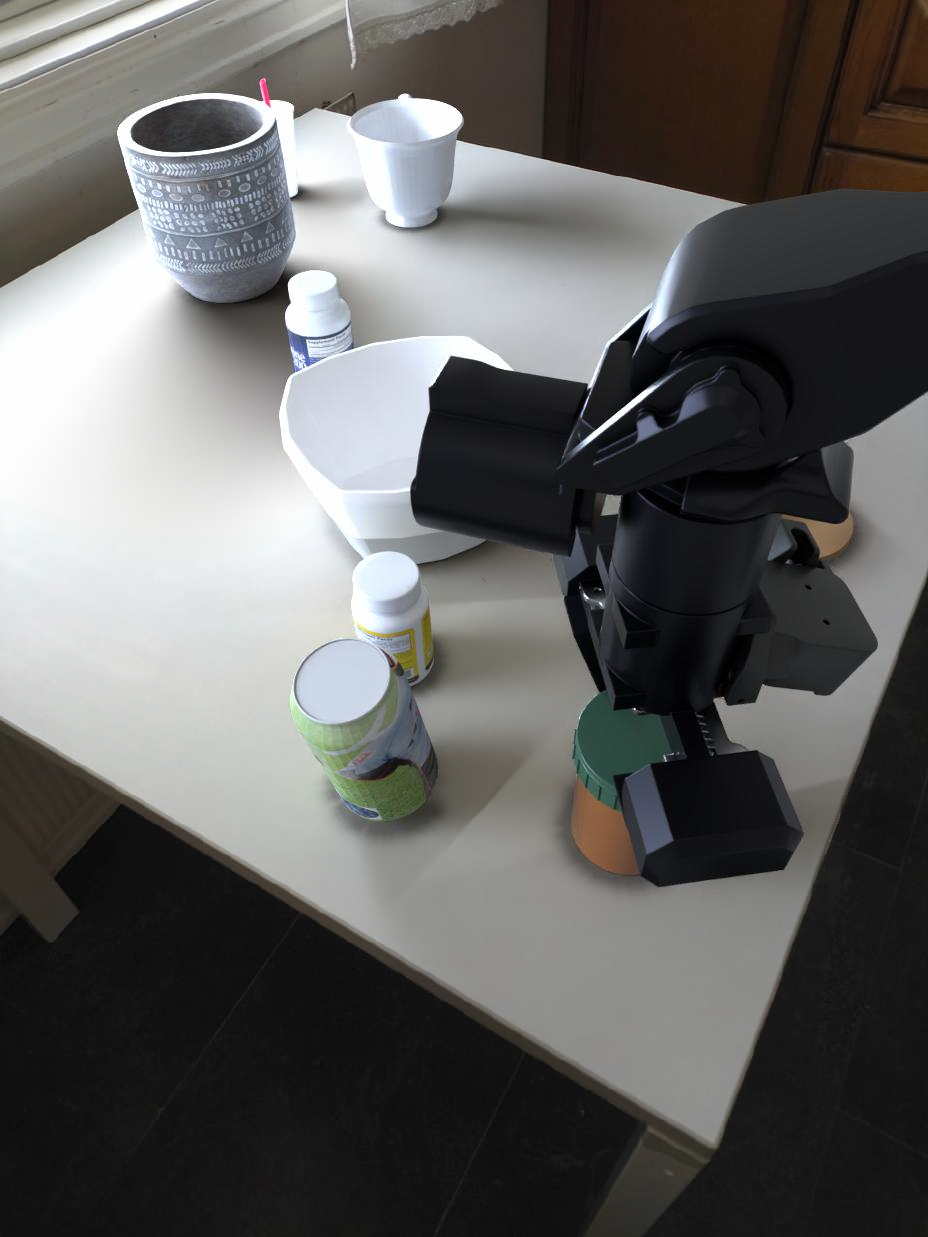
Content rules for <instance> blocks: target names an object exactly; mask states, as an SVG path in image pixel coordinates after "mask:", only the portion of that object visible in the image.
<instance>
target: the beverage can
mask: <svg viewBox="0 0 928 1237" xmlns="http://www.w3.org/2000/svg"><path fill="white" fill-rule="evenodd" d="M290 690H291V691H290V694H289V695H290V696H289V709H290V710H289V711H290V715H291V719H292V720H293V723H294V725H295V727H296V728H297V730H298V732H299V733H300V735H301V737H302V738H303V740H304V741H305V743H306V745H307V746H308V748H309V749H310V751H311V753H312V754H313V756H314V757H315V759H316V760H317V762H318V763H319V765H320V767H321V768H322V770H323V772H324V773H325V775H326V776H327V778H328V780H329V781H330V782H331V784H332V786H333V788H334V789H335V790H336V792H337V794H338V795H339V797H340V798H341V800H342V802H343V803H344V805H345V806H346V807H347V808H348V809H349V810H350V811H351V812H352V813H354V814H355V815H357V816H359V818H360V817H361V818H363V819H365V820H368V821H373V822H391V821H396V820H399V819H402V818H405V817H407V816H409V815H411V814H413V813H414V812H415V811H418V809H419V808H420V807H422V806H423V805H424V804H425V802H426V801H427V800H428V799H429V797H430V796H431V794H432V793H433V791H434V789H435V786H436V784H437V781H438V777H439V776H438V775H439V761H438V757H437V753H436V750H435V748H434V745H433V743H432V739H431V738H430V735H429V732H428V730H427V726H426V724H425V722H424V719H423V716H422V714H421V711H420V709H419V706H418V703H417V700H416V698H415V695H414V693H413V690H412V686H410V685H409V682H408V679H407V677H406V674H405V672H404V670H403V668H402V666H401V664H400V663H399V662H398V661H397V659H396V658H395V657H394V656H393V655H391V654H390V653H389V652H388V651H386V650H384V649H383V648H381V647H379V646H376V645H374V644H372V643H370V642H368V641H366V640H363V639H358V638H357V637H341V638H336V639H332V640H330V641H327V642H325V643H323V644H321V645H319V646H317V647H316V648H314V649H313V650H312V651H310V652H309V653H308V654H307V655H306V656H305V657H304V658H303V660H302V661H301V662H300V664H299V665H298V667H297V669H296V671H295V674H294V676H293V681H292V687H291V689H290Z"/></svg>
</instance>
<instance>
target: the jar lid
mask: <svg viewBox="0 0 928 1237" xmlns="http://www.w3.org/2000/svg"><path fill="white" fill-rule="evenodd" d="M695 714H696V713H695ZM701 729H702V728H701ZM572 745H573V749H572V757H571V759H572V760H574V761H573V762H574V767H575V774H576V775H577V774H578V775H579V777H580V779H581V781H582V783H583V784H584V788H587V789H588V791H589V792H590V793H591V794H592V795H593V796H594V797H595V798H596V800H597V801H598V800H599V801H600V802H602V803H603V804H605V805H606V806H608V807H610V808H612V809H611V810H616V811H619V812H621V813H622V811H621V808H620V804H619V800H618V797H617V793H616V790H615V786H614V782H613V779H612V776H613V775H617V774H625V773H632V772H636V771H638V770H640V769H642V768H643V767H645V766H647V765H648V764H650V763H658V762H662V760H663V756H664V755H667V754H672V752H671V749H670V746H669V743H668V740H667V737H666V734H665V731H664V728H663V725H662V722H661V719H660V716H659V715H655V714H651V715H643V716H638V715H636V714H634V713H633V711H632V709H624V710H616V711H613V709H612V706H611V702H610V699H609V696H608V692H607V689H606V690H604V691H602V692H601V693H599V692H598V693H597V694H596V695H595V696H594V697H592V698H591V699H590V700H589V701H588V702H587V704H586V705H585V706H584V708H583V709H582V710H581V713H580V715H579V717H578V721H577V723H576V728H574V733H573V741H572ZM706 745H707V744H706ZM709 753H710V756H713V752H709Z"/></svg>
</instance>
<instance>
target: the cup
mask: <svg viewBox="0 0 928 1237" xmlns="http://www.w3.org/2000/svg"><path fill="white" fill-rule="evenodd" d="M266 82H267V81H266V79H265V78H261V80H260V81H259V85H260V90H261V95H262V98H263V99H262V100H263V101H261V102H262V103H264V104H266V105H267V106H269V107H270V108H271V109H272V110H273V111H274V113H275V115H276V120H277V126H278V132H279V139H280V143H281V148H282V153H283V158H284V164H285V170H286V176H287V183H288V191H289V196H290V198H293V197H294V196H296V195H297V194H298V193H299V184H298V167H297V166H298V164H297V152H296V151H297V150H296V137H295V136H296V135H295V125H294V124H295V123H294V111H295V110H294V109H295V107H294V105H293V104H291V103H289V102H287V101H283V100H270V96H269V91H268V87H267V83H266Z"/></svg>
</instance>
